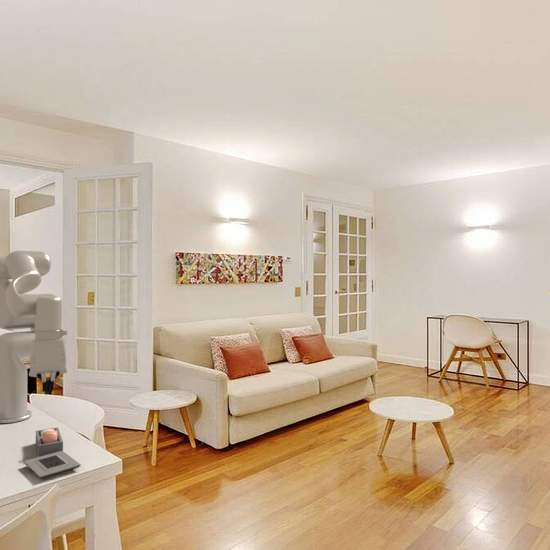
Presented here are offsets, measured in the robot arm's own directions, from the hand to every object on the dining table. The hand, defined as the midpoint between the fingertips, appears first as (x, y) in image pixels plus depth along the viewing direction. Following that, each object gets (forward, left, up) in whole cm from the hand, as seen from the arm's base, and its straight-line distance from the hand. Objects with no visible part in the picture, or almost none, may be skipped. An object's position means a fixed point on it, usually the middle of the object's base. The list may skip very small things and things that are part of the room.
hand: (47, 393), depth 144 cm
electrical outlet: (+19, 0, -17) cm, 26 cm away
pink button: (+7, 0, -14) cm, 16 cm away
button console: (+4, 0, -16) cm, 17 cm away
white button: (0, 0, -16) cm, 16 cm away
